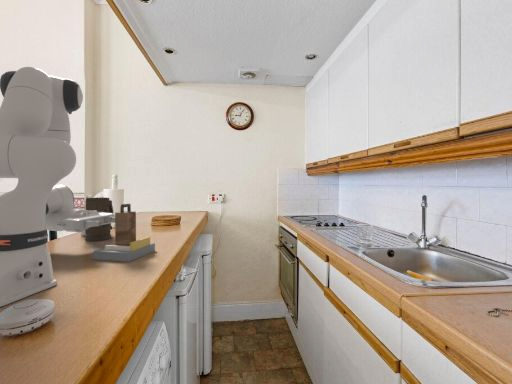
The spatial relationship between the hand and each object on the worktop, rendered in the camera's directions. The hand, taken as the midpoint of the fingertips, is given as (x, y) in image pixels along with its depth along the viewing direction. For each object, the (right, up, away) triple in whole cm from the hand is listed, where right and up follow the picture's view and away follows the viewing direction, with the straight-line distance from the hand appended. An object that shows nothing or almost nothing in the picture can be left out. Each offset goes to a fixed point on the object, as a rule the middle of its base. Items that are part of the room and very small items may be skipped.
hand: (108, 221), depth 107 cm
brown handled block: (+7, -9, -1) cm, 12 cm away
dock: (+7, -12, -1) cm, 14 cm away
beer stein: (-19, -11, +30) cm, 37 cm away
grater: (-29, -11, +42) cm, 52 cm away
